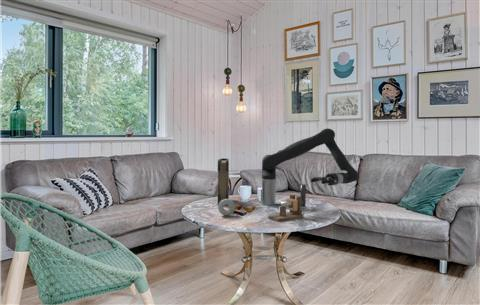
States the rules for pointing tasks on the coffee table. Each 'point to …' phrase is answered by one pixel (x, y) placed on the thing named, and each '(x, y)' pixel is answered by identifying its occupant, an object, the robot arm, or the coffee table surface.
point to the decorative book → (223, 179)
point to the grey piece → (303, 195)
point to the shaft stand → (290, 215)
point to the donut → (223, 203)
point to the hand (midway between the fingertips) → (316, 181)
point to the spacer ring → (295, 204)
